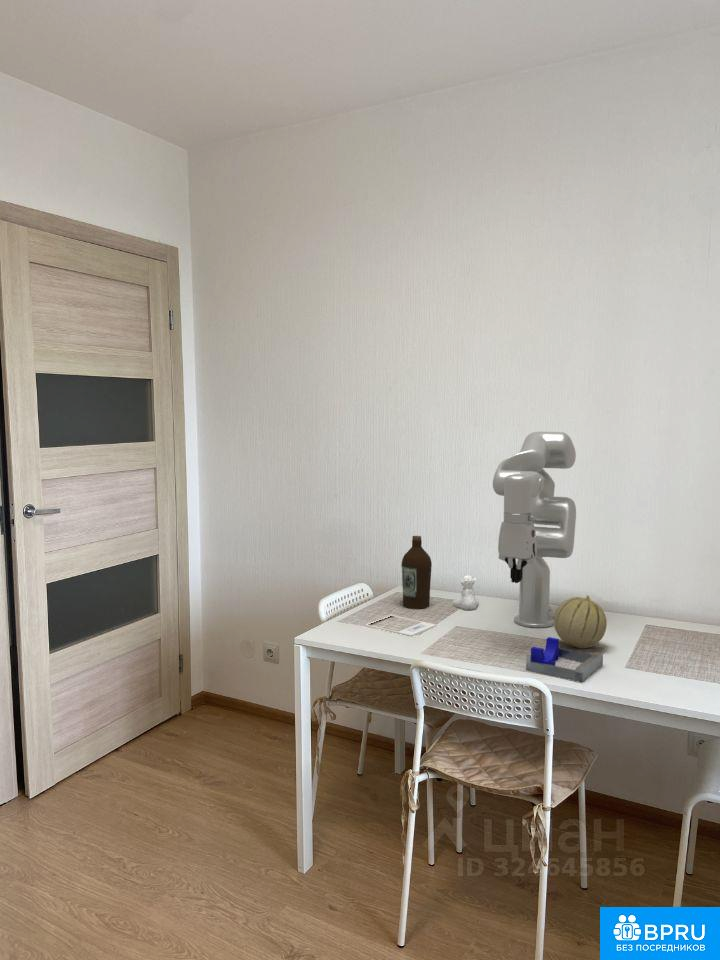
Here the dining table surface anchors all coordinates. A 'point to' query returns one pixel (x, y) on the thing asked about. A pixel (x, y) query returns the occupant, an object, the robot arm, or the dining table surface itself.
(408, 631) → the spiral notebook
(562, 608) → the cantaloupe
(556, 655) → the cable clip
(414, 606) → the olive oil
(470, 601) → the sitting furry creature
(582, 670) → the frame
